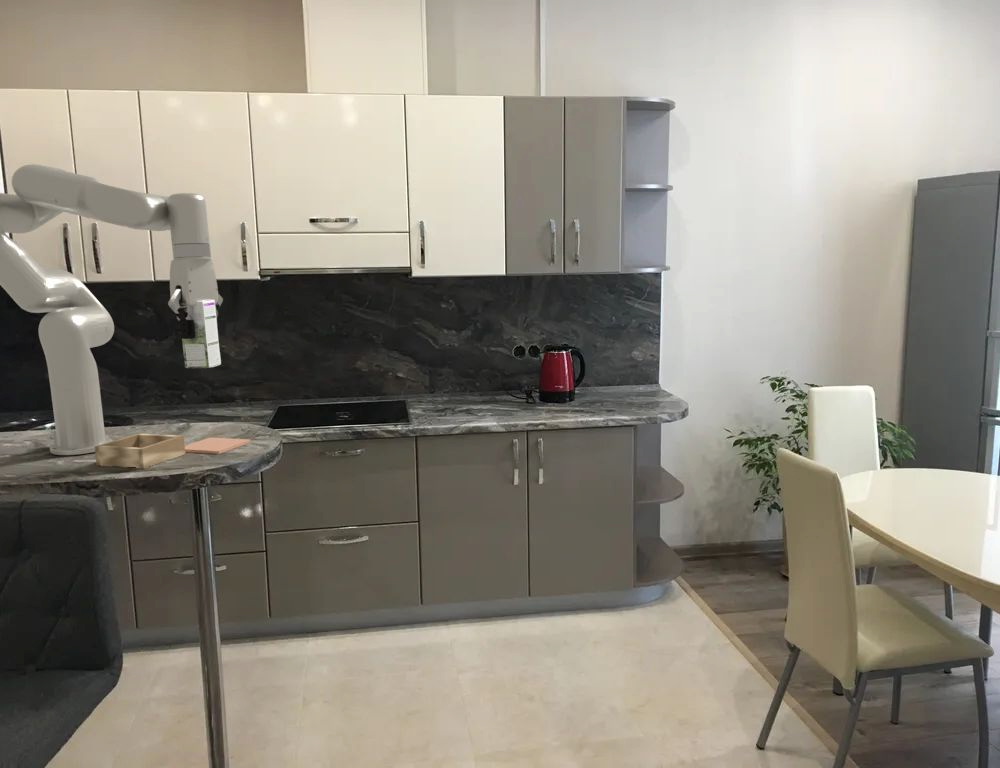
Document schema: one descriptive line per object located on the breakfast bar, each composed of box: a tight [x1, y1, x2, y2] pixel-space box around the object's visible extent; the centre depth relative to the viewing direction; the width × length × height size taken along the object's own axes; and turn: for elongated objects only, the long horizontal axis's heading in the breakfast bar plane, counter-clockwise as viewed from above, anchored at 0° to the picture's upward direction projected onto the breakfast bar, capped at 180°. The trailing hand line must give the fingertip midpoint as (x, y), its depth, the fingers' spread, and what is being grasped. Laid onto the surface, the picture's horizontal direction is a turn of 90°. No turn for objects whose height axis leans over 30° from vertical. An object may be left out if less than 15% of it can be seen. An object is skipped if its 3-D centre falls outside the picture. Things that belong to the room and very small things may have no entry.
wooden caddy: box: [94, 433, 186, 469], centre depth 161 cm, size 12×12×4 cm
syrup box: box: [179, 299, 222, 369], centre depth 166 cm, size 6×6×14 cm
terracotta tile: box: [184, 437, 251, 455], centre depth 171 cm, size 11×11×1 cm
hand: (200, 336), depth 166 cm, fingers closed on syrup box, 6 cm apart
